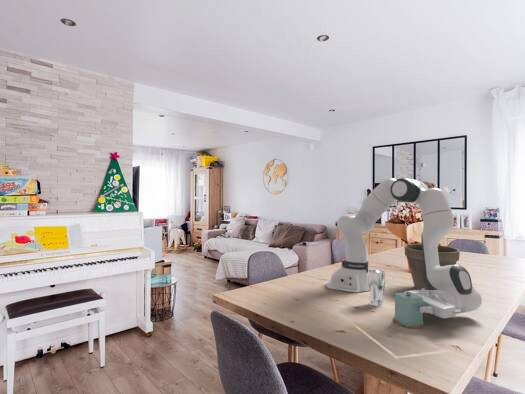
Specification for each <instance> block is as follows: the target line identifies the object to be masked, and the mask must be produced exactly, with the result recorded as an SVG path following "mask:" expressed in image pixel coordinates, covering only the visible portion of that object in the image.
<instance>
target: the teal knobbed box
mask: <svg viewBox="0 0 525 394" xmlns="http://www.w3.org/2000/svg"><path fill="white" fill-rule="evenodd" d="M405 292H406V291H405ZM418 306H423V298H422V297H420V296H418V295H415V294H413V293H411V292H406V293H404V292H395V293H394V318H395V320H396V321H398V322H400V323H401V324H403V325H405V326H406V327H410V326H419V325H423V323H424V321H423V318H424V317H423V315H424V314H423V313H421V312H419V311H418Z"/></svg>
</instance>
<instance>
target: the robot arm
mask: <svg viewBox="0 0 525 394" xmlns="http://www.w3.org/2000/svg"><path fill="white" fill-rule="evenodd" d="M396 201H398V202H402V203H406V204H408V205H418V206H419V209H420V213H421V216H422V217H421V218H422V221H423V222H422V223H423V225H422V227H423V228H422V233H421V239H420V241H421V244H422V252H423V262H424V272H423V279H424V282H425V284H426V286H427V287H428V288H429V289H427V288H422V289H421V290H418V289H412V290H411V289H410V290H406V291H404V292H403V293H406V292H411V293H413V294H415V295H418V296H420V297H422V298H423V306H418V311H419V312H421V313H425V314H431V315H433V316H436V317H437V318H440V319H448V318H449V319H450V318H453V317H456V315H457V314H459V315H460V314H463V313H469V312H474V311H477V310H478V309H479V308H480V307H481V305H482V301H483V300H482V295H481V294H480V292H479V291H478V290H477V289H476V287H474V286H473V282H472V278H471V275H470V273H469V271H468V270H467V269H466V268H465V267H464V266H462V265H461V264H457V263H456V264H455V265H447V266H440V264H439V256H438V245H440V241H442V239H443V238H444V237H446V236H447V235H448V234H449V233H450V232H451V231H452V229H453V228H454V227H455V226H454V225H455V220H454V215H453V210H452V208H451V205H450V202H449V200H448V198H447V195H446V193H445V192H444V191H443V189H441V188H437V187H430V186H429V185H428V184H427V183H426V182H424V181H421V180H417V179H412V178H407V177H400V178H397V179H396V178H393V177H388V178H386V179H384V180H383V181H382V182H380V183H379V184H378V185H376V187H375V188H374V189H373V190H372V191H371V192H370V193H369V194H368V195H367V196H366V197H365V198H364V199H363V201H362V203H361V207H360V208H359V209H358V211H357V212H355V213H346V214H343V215H342V216H340V217H339V218H338V219H337V223H336V225H337V226H336V227H337V229H338V232H339V233H341V236H342V238H343V240H344V241H343V242H344V247H345V249H344V250H345V258H343V259H341V266H340V267H339V268H338V269H337V270H335V271H333V273H332V274H331V278H330V280H329V281H326V288H327V289H331V290H336V291H344V292H349V293H361V292H368V291H370V290H369V284H368V274H369V270H370V266H369V261H368V260H369V259H368V257H369V256H368V252H369V251H368V249H369V248H368V245H367V243H365V239H364V236H363V234H366V233H369V232H371V231H372V230H373V229H374V228H375V224H376V222H378V220H379V218H380V217H381V216H382V215H383V214H384V212H386V211H387V210H388V209H389V208H390V207H391V206H392V205H393V204H394V203H395V202H396Z"/></svg>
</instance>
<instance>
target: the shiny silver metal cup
mask: <svg viewBox="0 0 525 394" xmlns="http://www.w3.org/2000/svg"><path fill="white" fill-rule="evenodd" d="M368 284H369V290H368V291H369V295H370V297H369V304H368V305H369V306H374V307H384V306H385V303H384V292H385V287H386V275H385V270H382V269H378V268H377V269H376V268H375V269H374V268H372V269H369V271H368Z"/></svg>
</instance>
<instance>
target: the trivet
mask: <svg viewBox="0 0 525 394" xmlns="http://www.w3.org/2000/svg"><path fill="white" fill-rule="evenodd" d="M392 322H393V324H395V325H396V326H399V327H401V328H406V329H409V330H410V329H412V330H420V329H423V328H425V327H426V324H425V322H423V325H419V326H410V327H406V326H405V325H403V324H401V323H400V322H398V321H396V320H395V317H393V318H392Z"/></svg>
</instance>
